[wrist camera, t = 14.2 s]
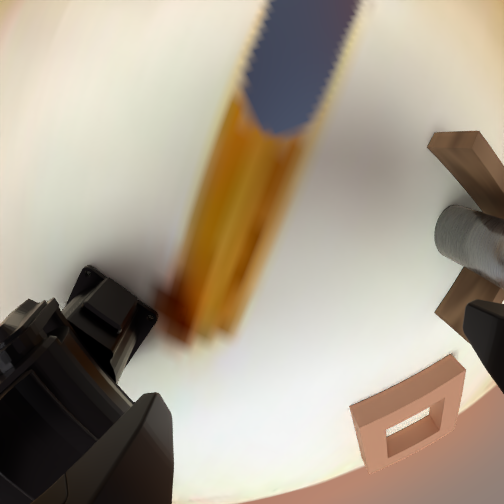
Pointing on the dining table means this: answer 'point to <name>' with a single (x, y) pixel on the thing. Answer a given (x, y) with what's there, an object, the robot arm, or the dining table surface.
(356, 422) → the sleeve block
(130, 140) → the dining table surface
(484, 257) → the steel axle
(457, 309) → the v block
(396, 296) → the dining table surface
